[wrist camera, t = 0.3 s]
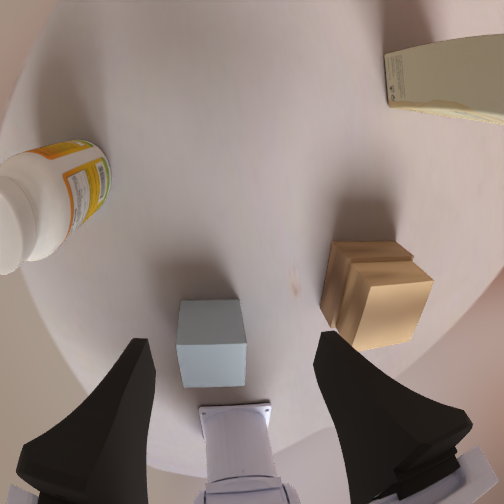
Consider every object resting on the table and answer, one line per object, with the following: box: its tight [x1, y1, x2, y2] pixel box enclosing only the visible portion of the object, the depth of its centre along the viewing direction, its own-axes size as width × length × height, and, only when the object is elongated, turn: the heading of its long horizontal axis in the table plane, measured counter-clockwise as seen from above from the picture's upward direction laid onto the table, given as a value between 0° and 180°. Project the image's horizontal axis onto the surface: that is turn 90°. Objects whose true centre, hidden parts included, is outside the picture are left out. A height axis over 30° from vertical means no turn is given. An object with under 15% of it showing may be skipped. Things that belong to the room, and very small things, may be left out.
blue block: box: [176, 299, 247, 387], centre depth 20 cm, size 4×4×5 cm
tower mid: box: [335, 261, 434, 351], centre depth 19 cm, size 6×6×3 cm
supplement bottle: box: [0, 140, 111, 275], centre depth 12 cm, size 5×5×10 cm
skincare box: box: [384, 34, 504, 125], centre depth 11 cm, size 6×4×12 cm
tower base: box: [320, 241, 414, 328], centre depth 21 cm, size 6×6×3 cm
